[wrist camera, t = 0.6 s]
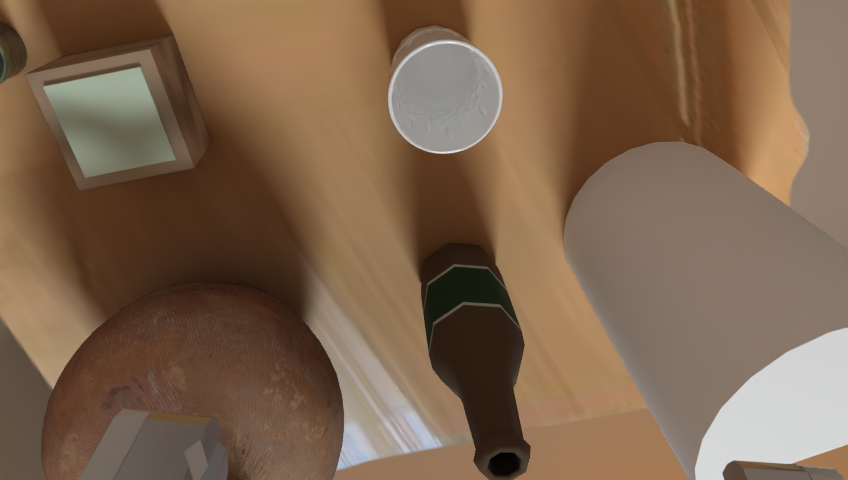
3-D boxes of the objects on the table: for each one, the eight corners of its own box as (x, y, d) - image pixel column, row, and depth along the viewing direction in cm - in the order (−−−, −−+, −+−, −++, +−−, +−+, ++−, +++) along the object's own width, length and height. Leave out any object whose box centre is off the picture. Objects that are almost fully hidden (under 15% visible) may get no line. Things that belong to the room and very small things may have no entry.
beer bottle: (408, 251, 60) (430, 437, 39) (488, 229, 60) (554, 405, 39) (430, 317, 64) (460, 520, 43) (505, 296, 63) (574, 492, 42)
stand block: (61, 57, 50) (22, 75, 44) (173, 34, 50) (148, 49, 44) (108, 163, 54) (78, 192, 49) (211, 142, 54) (193, 169, 48)
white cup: (395, 122, 54) (400, 163, 46) (375, 27, 51) (376, 52, 42) (486, 104, 54) (508, 142, 45) (473, 8, 51) (495, 29, 42)
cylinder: (539, 186, 58) (664, 391, 33) (724, 110, 56) (1004, 268, 31) (590, 327, 66) (723, 579, 41) (754, 265, 64) (999, 490, 39)
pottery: (156, 439, 68) (54, 693, 46) (73, 252, 58) (-111, 465, 36) (367, 407, 69) (365, 644, 46) (323, 214, 58) (294, 403, 36)
